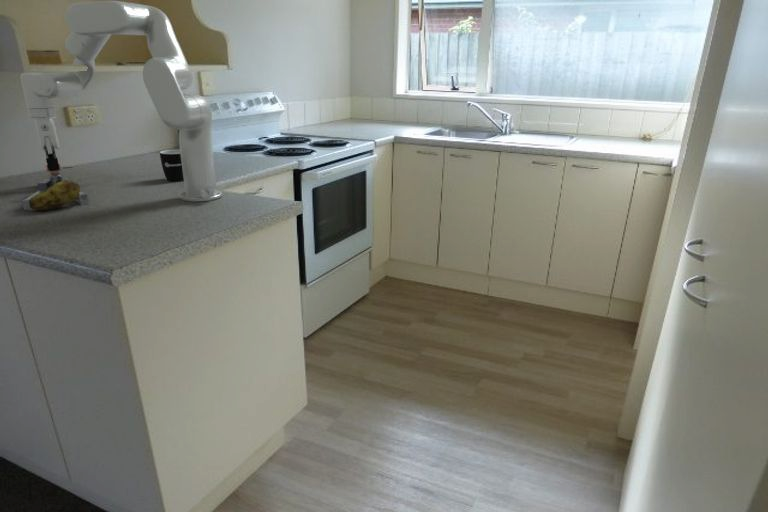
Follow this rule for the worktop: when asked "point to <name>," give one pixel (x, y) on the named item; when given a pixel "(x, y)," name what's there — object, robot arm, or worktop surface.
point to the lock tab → (52, 171)
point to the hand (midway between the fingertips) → (54, 170)
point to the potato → (55, 196)
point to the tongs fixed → (42, 188)
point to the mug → (172, 165)
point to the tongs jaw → (82, 196)
